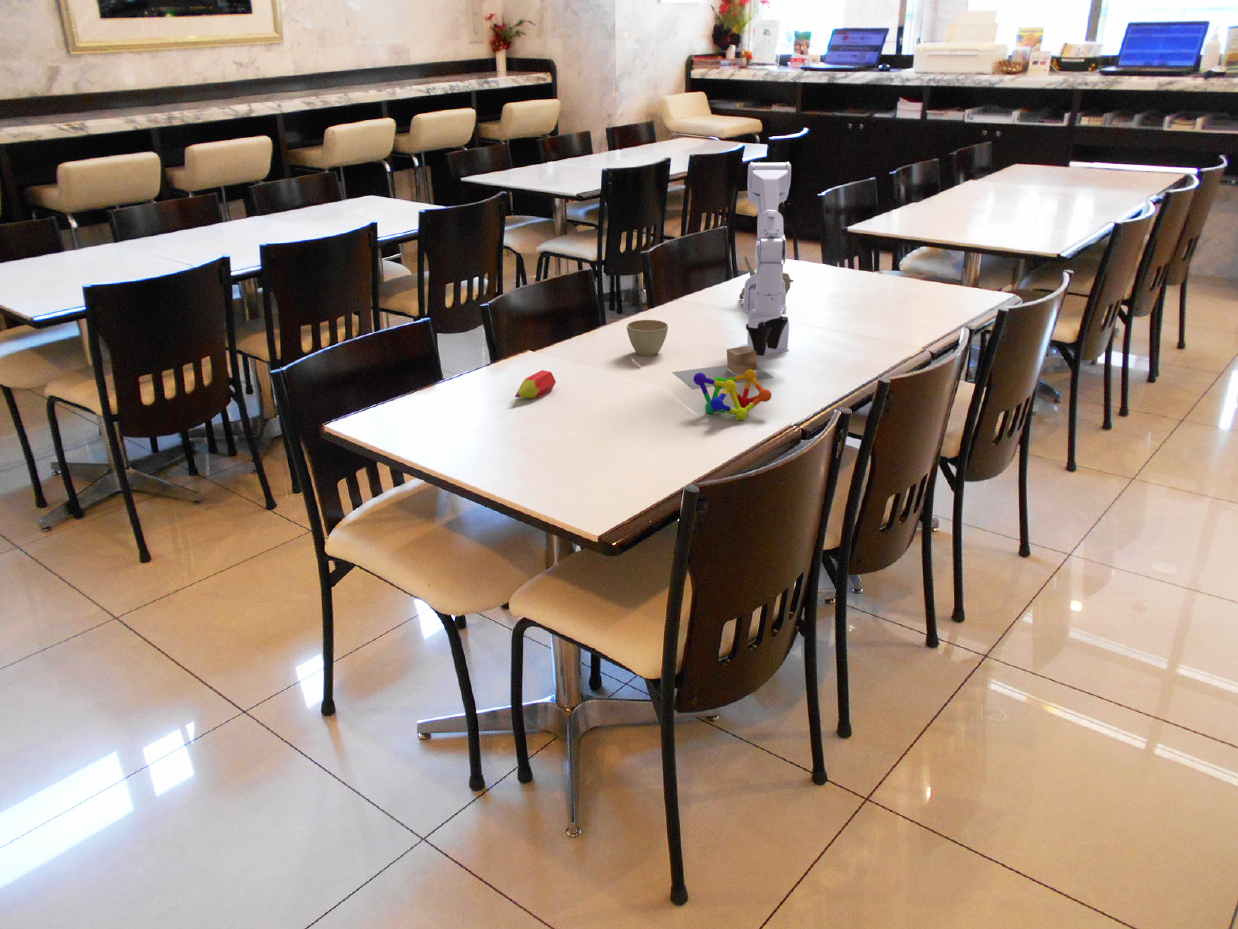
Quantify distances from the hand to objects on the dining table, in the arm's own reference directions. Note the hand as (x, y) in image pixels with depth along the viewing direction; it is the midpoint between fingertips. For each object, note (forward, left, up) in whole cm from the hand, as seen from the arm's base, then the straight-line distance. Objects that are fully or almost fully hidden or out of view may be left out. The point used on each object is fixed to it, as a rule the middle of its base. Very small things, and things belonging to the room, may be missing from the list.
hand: (765, 351), depth 214 cm
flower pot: (+20, -23, -5) cm, 31 cm away
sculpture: (-23, -46, -5) cm, 51 cm away
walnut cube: (+5, -1, -4) cm, 7 cm away
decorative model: (+18, +20, -5) cm, 28 cm away
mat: (+10, -1, -5) cm, 11 cm away
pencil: (+54, -4, -5) cm, 55 cm away
